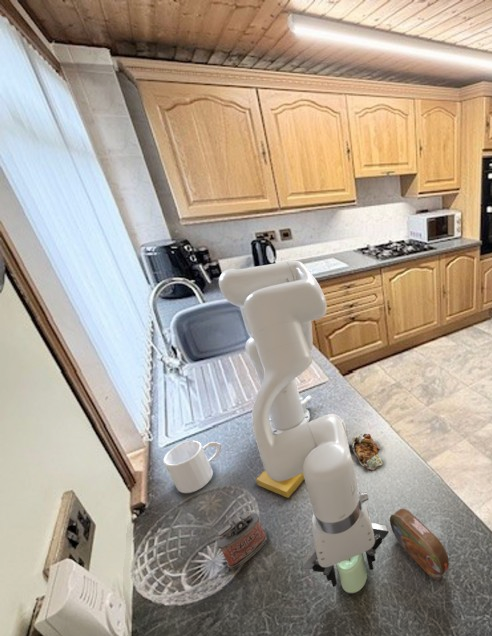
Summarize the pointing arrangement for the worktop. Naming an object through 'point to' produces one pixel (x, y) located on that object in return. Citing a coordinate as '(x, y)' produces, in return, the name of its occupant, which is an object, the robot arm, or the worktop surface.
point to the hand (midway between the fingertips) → (352, 569)
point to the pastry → (366, 451)
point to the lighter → (241, 539)
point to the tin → (420, 543)
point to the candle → (352, 573)
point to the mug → (190, 465)
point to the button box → (280, 484)
